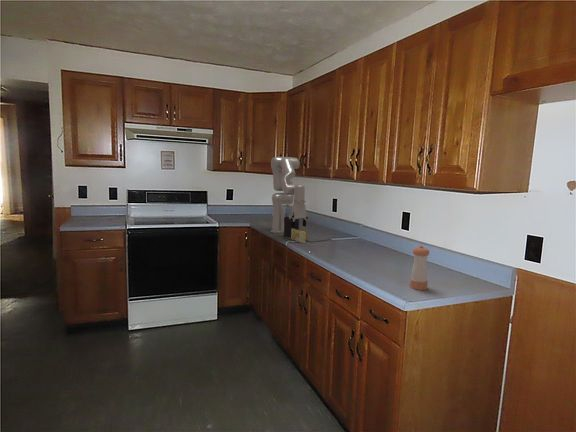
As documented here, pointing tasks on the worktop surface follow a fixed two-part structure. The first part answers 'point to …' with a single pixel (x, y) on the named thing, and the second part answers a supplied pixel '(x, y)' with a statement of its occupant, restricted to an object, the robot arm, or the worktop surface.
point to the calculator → (289, 226)
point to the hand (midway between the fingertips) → (298, 226)
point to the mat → (317, 239)
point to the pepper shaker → (419, 269)
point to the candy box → (298, 235)
